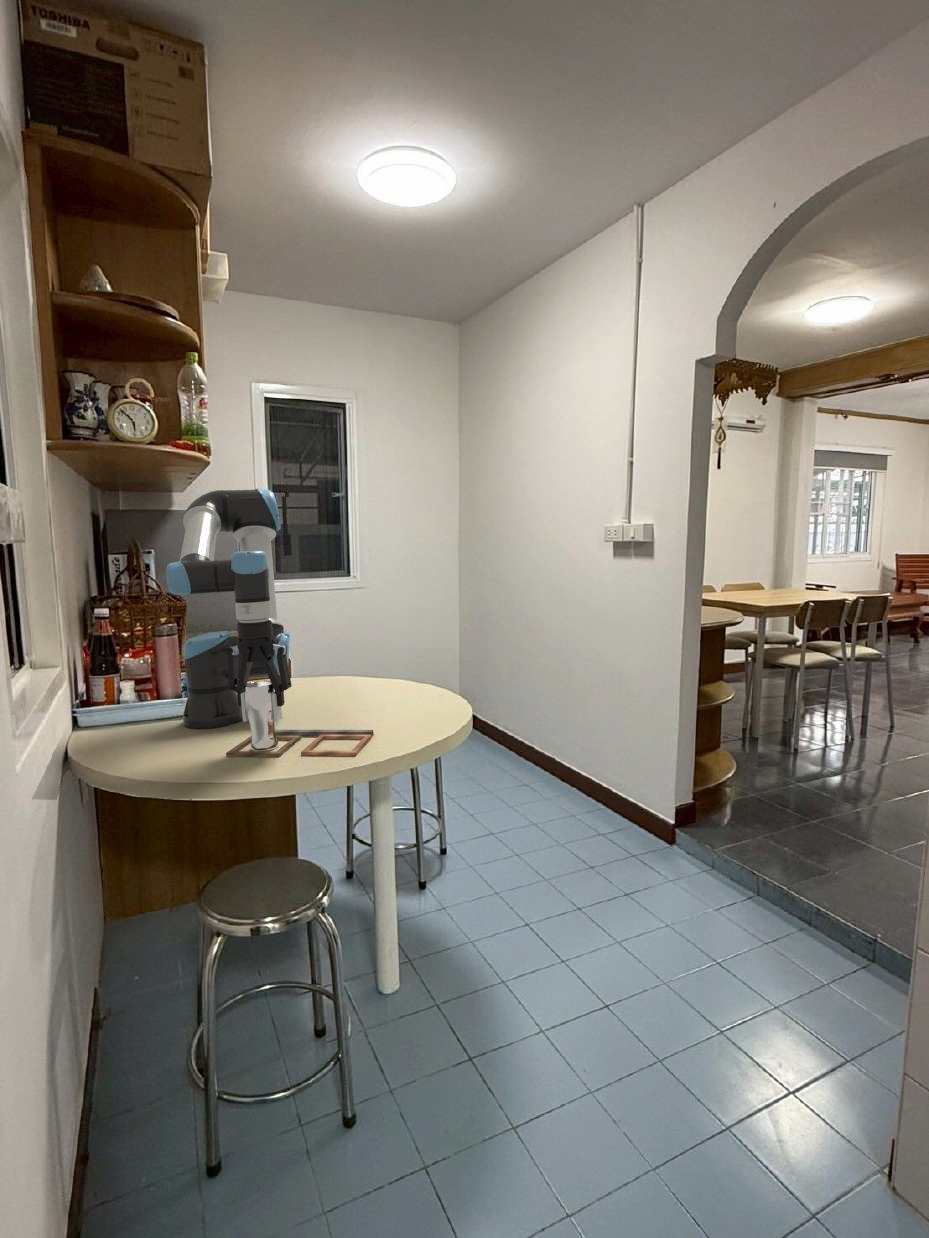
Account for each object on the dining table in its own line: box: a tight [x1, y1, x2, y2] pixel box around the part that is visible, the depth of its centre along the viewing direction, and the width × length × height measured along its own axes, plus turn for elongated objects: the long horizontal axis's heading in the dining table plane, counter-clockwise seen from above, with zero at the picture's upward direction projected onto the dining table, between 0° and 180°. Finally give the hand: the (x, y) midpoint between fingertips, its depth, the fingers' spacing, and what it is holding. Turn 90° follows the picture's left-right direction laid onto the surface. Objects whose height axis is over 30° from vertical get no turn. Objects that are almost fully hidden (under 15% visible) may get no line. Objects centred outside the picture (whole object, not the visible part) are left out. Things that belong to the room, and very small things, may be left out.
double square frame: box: [225, 729, 374, 758], centre depth 151 cm, size 29×16×1 cm, turn 82°
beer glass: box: [244, 679, 280, 751], centre depth 149 cm, size 7×7×15 cm
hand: (262, 719), depth 150 cm, fingers closed on beer glass, 7 cm apart
